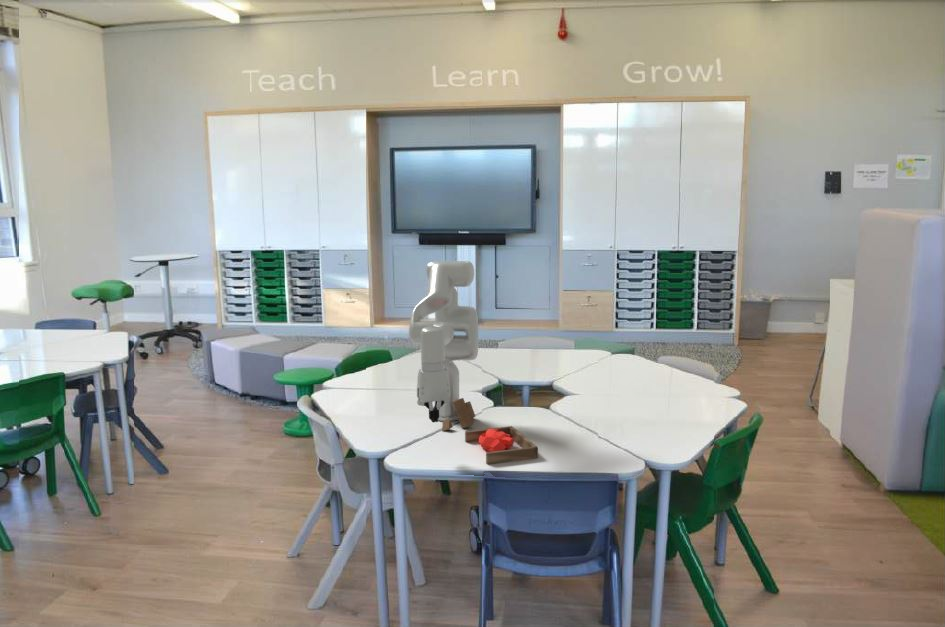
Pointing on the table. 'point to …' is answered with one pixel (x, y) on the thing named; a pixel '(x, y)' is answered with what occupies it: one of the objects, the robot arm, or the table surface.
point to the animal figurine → (495, 440)
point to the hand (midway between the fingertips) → (434, 420)
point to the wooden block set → (461, 414)
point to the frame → (506, 455)
